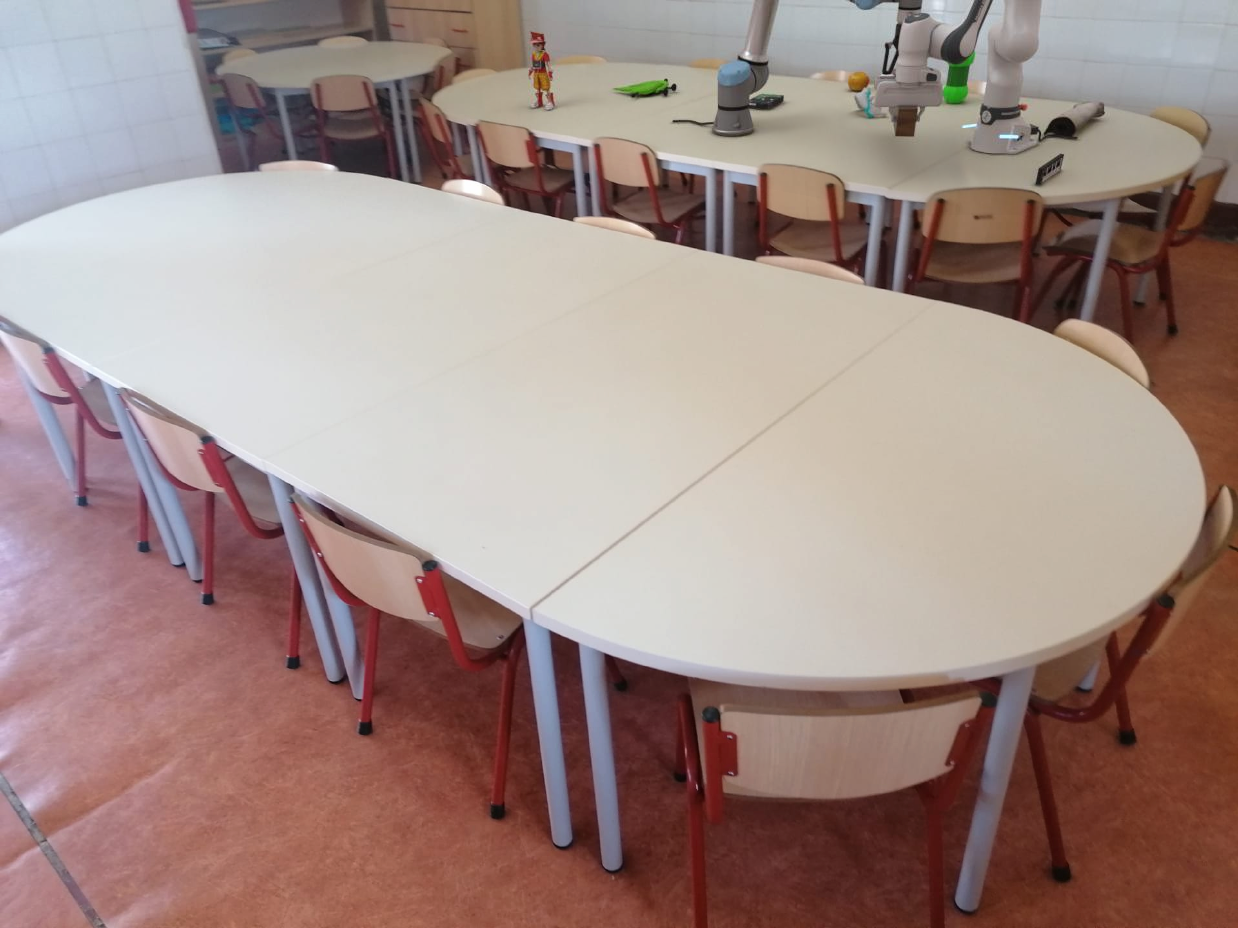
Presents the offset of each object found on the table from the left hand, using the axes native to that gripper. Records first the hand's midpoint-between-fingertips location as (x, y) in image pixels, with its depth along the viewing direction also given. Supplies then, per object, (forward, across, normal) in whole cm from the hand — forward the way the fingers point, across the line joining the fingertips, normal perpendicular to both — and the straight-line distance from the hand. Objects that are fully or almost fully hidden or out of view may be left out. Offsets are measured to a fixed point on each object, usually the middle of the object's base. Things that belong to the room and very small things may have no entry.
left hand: (898, 95), depth 313 cm
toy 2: (+15, -106, +68) cm, 127 cm away
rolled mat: (+13, +62, +12) cm, 64 cm away
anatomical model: (+14, -9, +30) cm, 34 cm away
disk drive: (+14, -50, +44) cm, 68 cm away
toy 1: (+15, -144, +40) cm, 150 cm away
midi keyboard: (+13, +44, -47) cm, 66 cm away
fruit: (+14, -13, +70) cm, 72 cm away
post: (+1, 0, -22) cm, 22 cm away
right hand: (-2, 0, -43) cm, 43 cm away
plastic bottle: (+14, +24, +49) cm, 56 cm away
